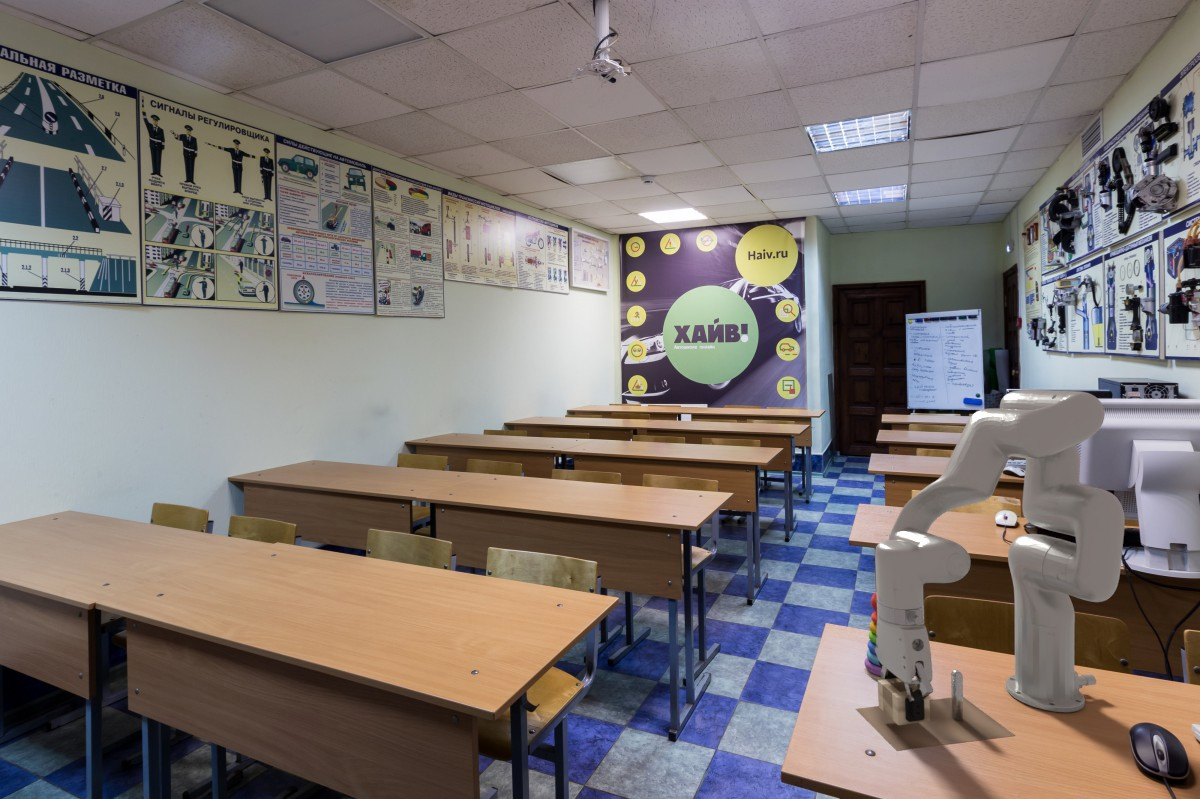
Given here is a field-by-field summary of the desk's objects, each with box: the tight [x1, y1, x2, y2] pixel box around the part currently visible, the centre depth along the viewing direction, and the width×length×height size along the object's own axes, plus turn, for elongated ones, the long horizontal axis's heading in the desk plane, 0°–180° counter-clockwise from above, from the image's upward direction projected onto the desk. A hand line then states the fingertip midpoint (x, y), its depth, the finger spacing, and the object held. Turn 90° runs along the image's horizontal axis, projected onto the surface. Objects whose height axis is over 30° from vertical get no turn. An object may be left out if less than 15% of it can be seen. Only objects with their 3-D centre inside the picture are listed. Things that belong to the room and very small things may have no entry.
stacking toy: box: [863, 591, 885, 681], centre depth 131 cm, size 8×8×19 cm
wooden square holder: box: [877, 678, 930, 725], centre depth 112 cm, size 6×6×5 cm
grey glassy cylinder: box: [950, 669, 964, 721], centre depth 113 cm, size 2×2×9 cm
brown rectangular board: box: [855, 696, 1016, 752], centre depth 113 cm, size 22×13×2 cm, turn 97°
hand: (903, 708), depth 112 cm, fingers closed on wooden square holder, 5 cm apart
